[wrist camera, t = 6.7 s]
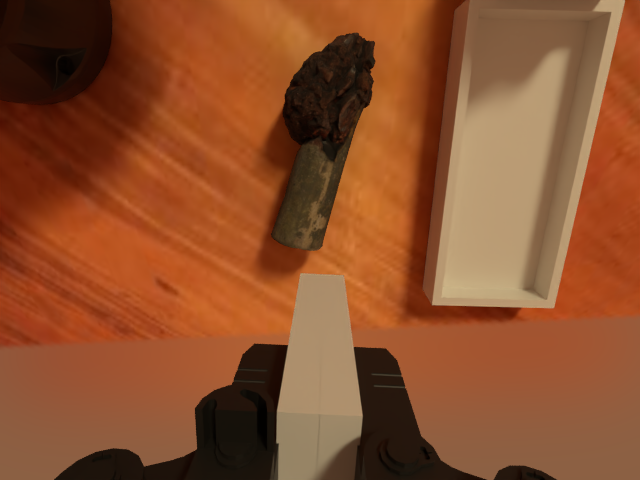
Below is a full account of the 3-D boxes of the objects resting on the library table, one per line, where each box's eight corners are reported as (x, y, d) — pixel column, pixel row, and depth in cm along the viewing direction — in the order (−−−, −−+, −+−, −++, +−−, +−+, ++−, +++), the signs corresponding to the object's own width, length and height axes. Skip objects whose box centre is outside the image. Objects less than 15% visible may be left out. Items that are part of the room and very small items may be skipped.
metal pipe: (320, 242, 36) (322, 260, 31) (254, 223, 36) (243, 238, 30) (381, 54, 32) (396, 37, 27) (307, 28, 31) (306, 5, 26)
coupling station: (422, 289, 38) (461, 352, 28) (466, -92, 29) (550, -221, 18) (533, 292, 38) (615, 356, 28) (613, -88, 29) (785, -215, 18)
